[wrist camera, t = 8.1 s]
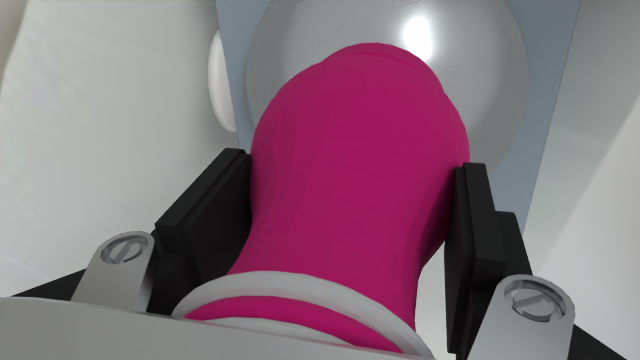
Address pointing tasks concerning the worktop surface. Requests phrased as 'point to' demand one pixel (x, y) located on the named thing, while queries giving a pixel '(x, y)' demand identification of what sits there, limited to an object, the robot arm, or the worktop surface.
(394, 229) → the pepper mill
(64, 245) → the worktop surface
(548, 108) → the scale
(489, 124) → the pan
